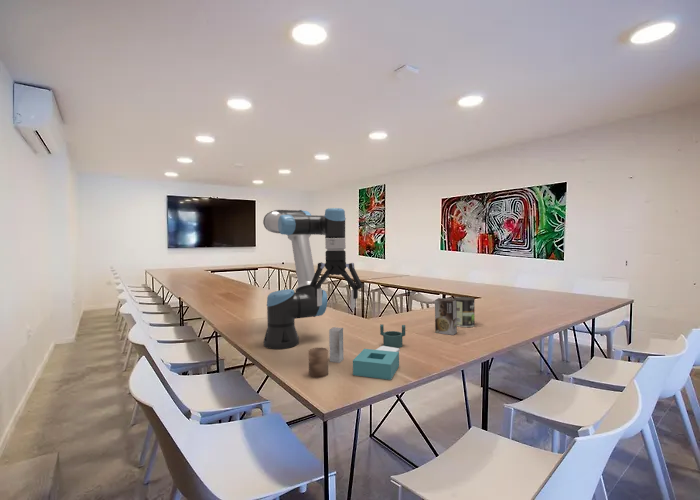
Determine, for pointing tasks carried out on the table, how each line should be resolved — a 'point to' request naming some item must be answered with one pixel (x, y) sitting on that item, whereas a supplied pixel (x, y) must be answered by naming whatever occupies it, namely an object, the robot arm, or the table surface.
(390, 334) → the bracket
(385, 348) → the external hard drive
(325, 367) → the round bit
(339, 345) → the square bit
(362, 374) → the socket block
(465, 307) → the coffee can
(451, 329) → the coffee box
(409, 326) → the table surface
